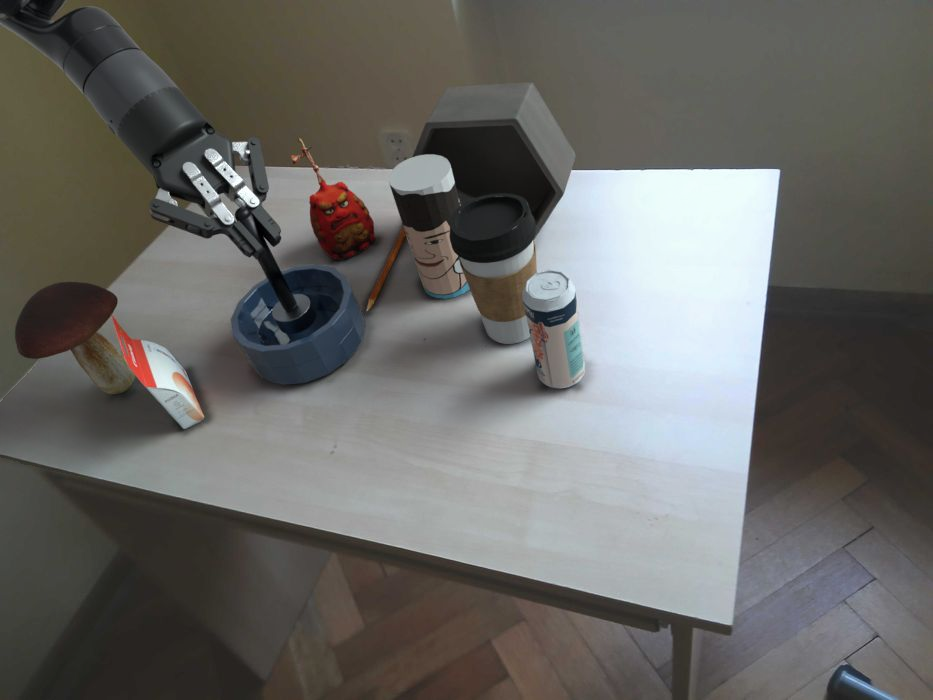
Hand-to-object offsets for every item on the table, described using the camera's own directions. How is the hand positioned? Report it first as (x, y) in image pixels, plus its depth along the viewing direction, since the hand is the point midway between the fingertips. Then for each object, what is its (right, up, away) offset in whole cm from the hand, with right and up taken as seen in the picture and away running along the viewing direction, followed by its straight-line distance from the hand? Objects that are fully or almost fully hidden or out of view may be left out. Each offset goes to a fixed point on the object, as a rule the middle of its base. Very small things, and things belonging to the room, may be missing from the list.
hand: (269, 248), depth 71 cm
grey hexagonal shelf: (+24, +5, +19) cm, 31 cm away
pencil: (+10, +1, +19) cm, 22 cm away
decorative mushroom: (-20, -15, +13) cm, 28 cm away
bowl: (+1, -9, +12) cm, 15 cm away
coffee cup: (+25, -7, +7) cm, 27 cm away
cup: (+18, -2, +15) cm, 23 cm away
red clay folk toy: (+4, +4, +24) cm, 24 cm away
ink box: (-12, -16, +9) cm, 22 cm away
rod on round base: (+1, -7, +9) cm, 11 cm away
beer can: (+29, -13, +1) cm, 32 cm away
